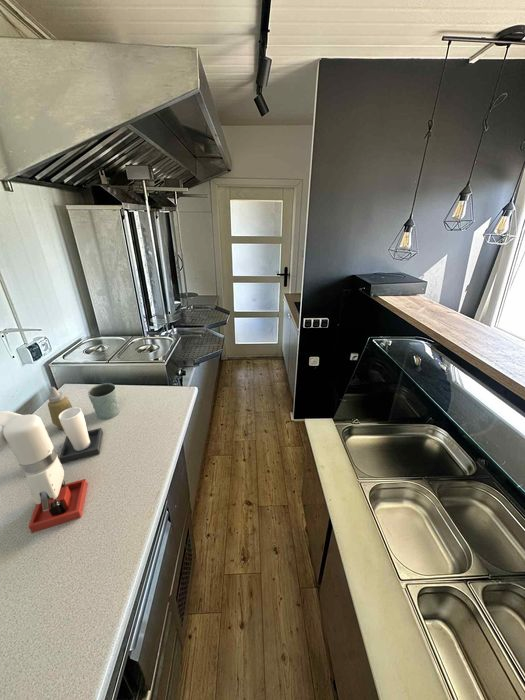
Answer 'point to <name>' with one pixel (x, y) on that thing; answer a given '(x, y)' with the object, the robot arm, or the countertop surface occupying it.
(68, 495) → the red block
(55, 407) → the squeeze bottle
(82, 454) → the graphite tray
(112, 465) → the countertop surface
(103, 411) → the green pot
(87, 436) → the drinking glass
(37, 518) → the red tray
